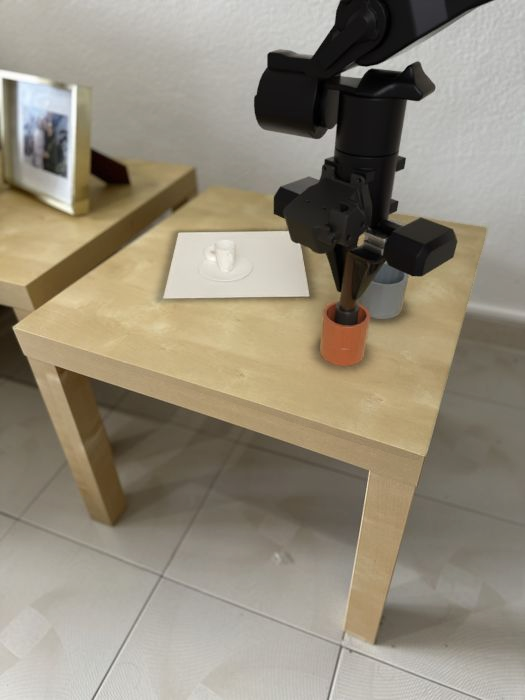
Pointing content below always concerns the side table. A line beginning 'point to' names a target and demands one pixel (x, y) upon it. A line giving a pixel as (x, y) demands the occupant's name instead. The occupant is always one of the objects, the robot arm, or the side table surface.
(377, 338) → the side table surface
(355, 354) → the holder
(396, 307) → the cup
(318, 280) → the side table surface
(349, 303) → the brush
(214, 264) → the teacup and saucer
